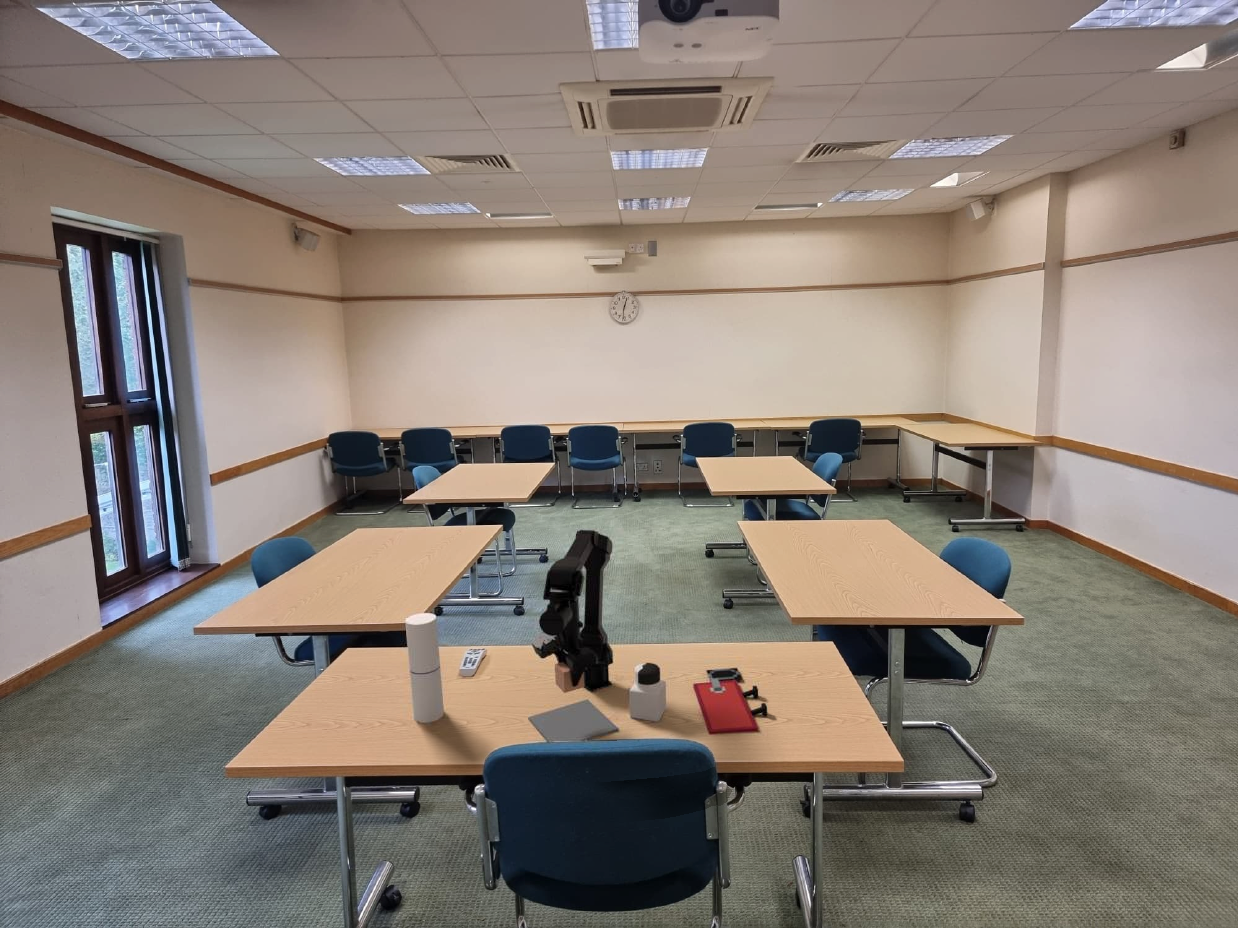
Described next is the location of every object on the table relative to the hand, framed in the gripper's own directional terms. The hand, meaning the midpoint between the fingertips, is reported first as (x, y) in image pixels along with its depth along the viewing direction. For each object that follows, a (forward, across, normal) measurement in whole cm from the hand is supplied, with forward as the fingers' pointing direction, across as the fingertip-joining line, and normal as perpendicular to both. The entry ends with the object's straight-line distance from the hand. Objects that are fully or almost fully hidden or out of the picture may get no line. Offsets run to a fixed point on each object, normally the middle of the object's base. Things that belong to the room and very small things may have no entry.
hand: (570, 681), depth 164 cm
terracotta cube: (+1, 0, 0) cm, 1 cm away
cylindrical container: (+11, -23, -28) cm, 38 cm away
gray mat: (+11, 0, 0) cm, 11 cm away
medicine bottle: (+11, +5, +18) cm, 22 cm away
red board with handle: (+12, +10, +38) cm, 41 cm away
